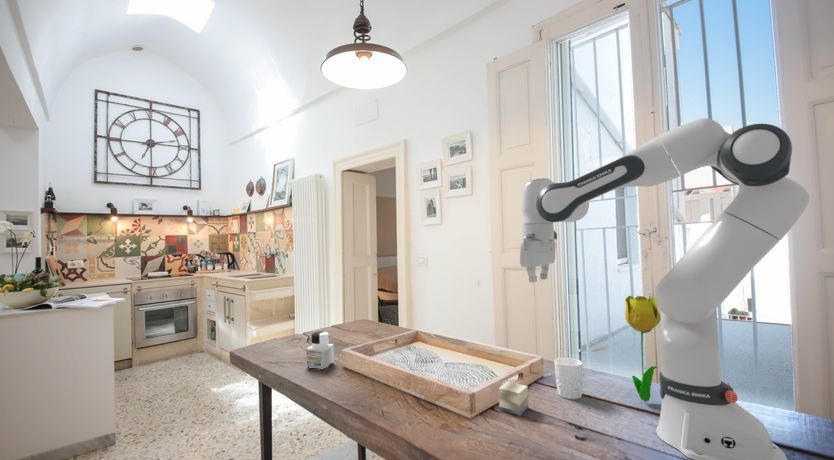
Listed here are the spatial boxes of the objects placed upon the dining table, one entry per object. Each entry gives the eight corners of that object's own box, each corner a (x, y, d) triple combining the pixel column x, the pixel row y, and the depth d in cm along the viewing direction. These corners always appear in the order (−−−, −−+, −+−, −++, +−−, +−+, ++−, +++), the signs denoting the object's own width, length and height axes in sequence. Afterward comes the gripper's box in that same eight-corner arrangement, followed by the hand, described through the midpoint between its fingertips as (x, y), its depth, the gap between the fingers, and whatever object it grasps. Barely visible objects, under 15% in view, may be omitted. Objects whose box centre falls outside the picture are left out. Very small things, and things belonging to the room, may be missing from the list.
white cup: (553, 397, 108) (552, 363, 109) (557, 388, 115) (555, 356, 116) (582, 402, 105) (581, 367, 105) (584, 392, 112) (583, 359, 112)
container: (306, 368, 140) (305, 334, 140) (317, 362, 147) (316, 329, 147) (323, 370, 137) (323, 335, 138) (334, 363, 145) (333, 330, 145)
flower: (621, 400, 105) (617, 296, 106) (638, 394, 109) (634, 293, 110) (652, 412, 97) (647, 300, 99) (670, 405, 101) (664, 297, 102)
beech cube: (528, 407, 102) (527, 386, 103) (520, 415, 98) (519, 393, 98) (508, 402, 106) (507, 381, 106) (499, 410, 101) (498, 388, 102)
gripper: (536, 233, 98) (536, 285, 98) (559, 234, 114) (559, 278, 114) (513, 234, 102) (514, 283, 102) (539, 234, 118) (539, 277, 118)
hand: (538, 280), depth 108 cm, fingers open, 8 cm apart
